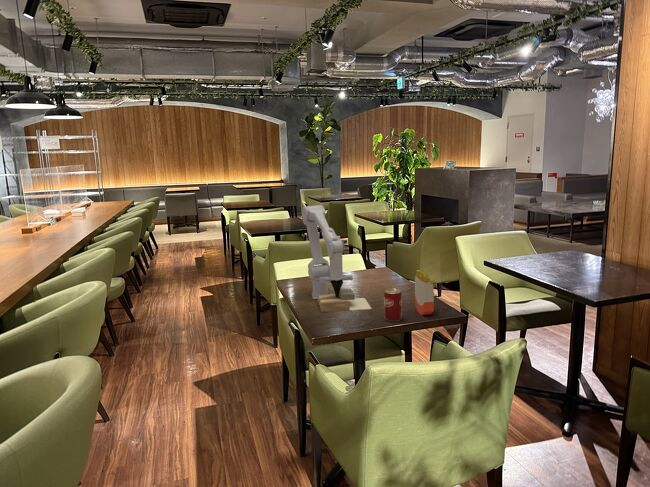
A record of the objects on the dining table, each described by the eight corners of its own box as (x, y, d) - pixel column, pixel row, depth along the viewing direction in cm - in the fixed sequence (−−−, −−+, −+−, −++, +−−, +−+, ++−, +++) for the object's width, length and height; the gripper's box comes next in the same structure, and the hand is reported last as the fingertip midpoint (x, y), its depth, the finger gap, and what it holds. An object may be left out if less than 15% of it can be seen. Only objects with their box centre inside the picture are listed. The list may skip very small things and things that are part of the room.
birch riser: (318, 302, 227) (318, 294, 226) (343, 300, 228) (343, 292, 227) (321, 312, 213) (321, 303, 212) (348, 310, 214) (348, 301, 213)
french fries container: (424, 308, 213) (424, 268, 210) (434, 316, 203) (435, 274, 200) (414, 309, 213) (414, 269, 209) (424, 317, 202) (424, 275, 199)
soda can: (388, 323, 197) (388, 294, 195) (381, 317, 204) (381, 289, 201) (404, 320, 199) (404, 292, 197) (397, 315, 206) (397, 287, 203)
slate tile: (337, 294, 224) (338, 288, 224) (350, 293, 225) (351, 288, 225) (341, 299, 216) (341, 294, 215) (354, 299, 216) (354, 294, 216)
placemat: (344, 300, 229) (344, 299, 229) (364, 298, 230) (364, 297, 230) (350, 310, 213) (350, 310, 213) (371, 309, 214) (371, 308, 214)
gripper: (320, 270, 212) (321, 300, 215) (353, 268, 214) (354, 297, 216) (319, 266, 219) (320, 295, 222) (351, 264, 221) (351, 293, 223)
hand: (337, 296), depth 220 cm, fingers closed
